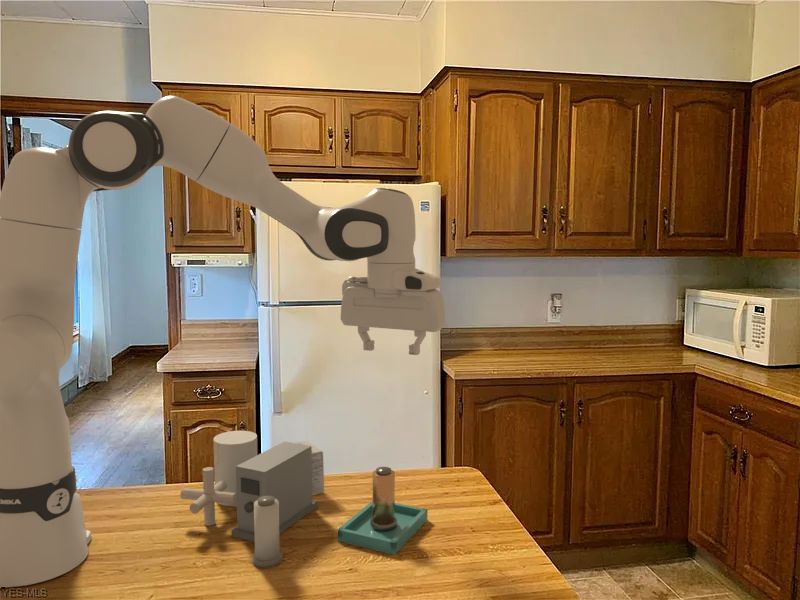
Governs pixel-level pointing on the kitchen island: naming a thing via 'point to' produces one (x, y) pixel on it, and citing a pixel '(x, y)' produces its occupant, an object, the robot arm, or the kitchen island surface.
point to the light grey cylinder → (232, 456)
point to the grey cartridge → (266, 533)
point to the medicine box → (316, 469)
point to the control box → (275, 486)
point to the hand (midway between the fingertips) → (391, 352)
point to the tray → (388, 542)
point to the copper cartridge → (383, 500)
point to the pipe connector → (208, 496)
